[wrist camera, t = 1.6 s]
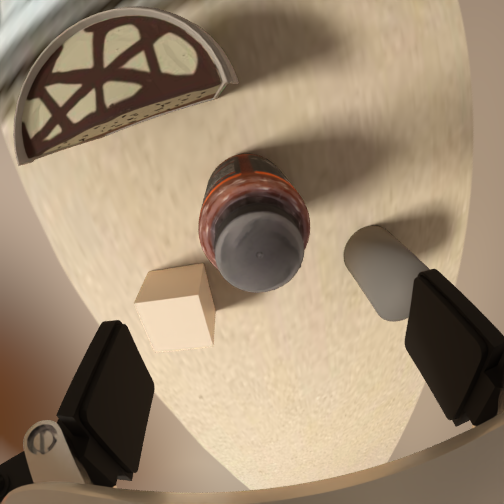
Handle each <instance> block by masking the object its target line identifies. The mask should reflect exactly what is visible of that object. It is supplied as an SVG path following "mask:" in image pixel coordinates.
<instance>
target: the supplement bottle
mask: <svg viewBox="0 0 504 504" xmlns="http://www.w3.org/2000/svg"><path fill="white" fill-rule="evenodd" d="M309 235H310V219H309V213H308V210H307V208H306V205H305V203H304V201H303V199H302V198H301V196H300V195H299V193H298V192H297V191H296V190H295V188H294V187H293V186H292V185H291V183H290V182H289V181H288V179H287V178H286V177H285V176H284V175H283V174H282V172H281V171H280V170H279V169H278V168H277V167H276V166H275V165H274V164H273V163H272V162H270V161H269V160H267V159H265V158H263V157H261V156H258V155H253V154H241V155H235V156H233V157H230V158H228V159H227V160H225V161H224V162H222V163H221V164H220V165H219V166H218V167H217V168H216V169H215V171H214V172H213V173H212V175H211V177H210V179H209V182H208V185H207V189H206V193H205V197H204V200H203V204H202V208H201V212H200V217H199V238H200V243H201V246H202V249H203V251H204V253H205V255H206V256H207V258H208V259H209V261H210V262H211V263H212V264H213V265H214V266H215V267H216V268H217V269H218V270H219V271H220V273H221V275H222V276H223V277H224V278H225V280H227V281H228V282H229V283H230V284H231V285H233V286H234V287H236V288H238V289H241V290H244V291H248V292H255V293H260V292H267V291H271V290H275V289H277V288H279V287H281V286H283V285H284V284H286V283H288V282H289V281H290V280H291V279H292V278H293V277H294V275H295V274H296V273H297V271H298V269H299V268H300V267H301V263H302V261H303V257H304V250H305V248H306V245H307V243H308V240H309Z"/></svg>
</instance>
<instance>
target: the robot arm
mask: <svg viewBox="0 0 504 504" xmlns="http://www.w3.org/2000/svg"><path fill="white" fill-rule="evenodd" d="M405 347H406V350H407V351H408V353H409V355H410V356H411V358H412V360H413V361H414V363H415V364H416V366H417V368H418V369H419V371H420V373H421V374H422V376H423V378H424V379H425V381H426V383H427V384H428V386H429V387H430V389H431V391H432V393H433V394H434V396H435V398H436V400H437V401H438V403H439V405H440V407H441V408H442V410H443V412H444V414H445V415H446V417H447V418H448V419H449V420H453V422H454V424H455V426H459V425H461V424H463V423H465V422H467V421H469V420H470V421H471V423H472V424H473V425H472V429H470V430H468V431H466V432H464V433H462V434H459V435H457V436H455V437H453V438H451V439H448V440H446V441H444V442H441V443H439V444H437V445H434V446H432V447H430V448H427V449H425V450H422V451H419V452H417V453H414V454H412V455H409V456H406V457H403V458H400V459H398V460H394V461H392V462H388V463H385V464H382V465H379V466H375V467H372V468H368V469H365V470H361V471H358V472H354V473H350V474H346V475H342V476H338V477H333V478H329V479H324V480H319V481H314V482H309V483H303V484H297V485H291V486H284V487H277V488H269V489H260V490H249V491H236V492H217V493H173V492H154V491H140V490H128V489H119V488H117V487H116V482H117V479H120V480H128V481H132V477H133V473H136V472H137V470H138V467H139V461H140V456H141V451H142V446H143V441H144V436H145V431H146V426H147V422H148V417H149V412H150V408H151V403H152V398H153V394H154V382H153V380H152V378H151V376H150V374H149V372H148V370H147V368H146V366H145V364H144V362H143V360H142V358H141V355H140V353H139V351H138V349H137V347H136V345H135V343H134V340H133V338H132V336H131V334H130V331H129V329H128V327H127V326H126V325H125V324H122V322H121V321H119V320H115V321H104V322H102V323H101V325H100V327H99V329H98V331H97V332H96V334H95V336H94V338H93V340H92V342H91V344H90V346H89V348H88V350H87V352H86V354H85V356H84V358H83V360H82V362H81V364H80V366H79V368H78V370H77V372H76V374H75V376H74V378H73V380H72V382H71V384H70V386H69V388H68V391H67V393H66V395H65V397H64V399H63V401H62V404H61V406H60V408H59V410H58V413H57V417H58V418H59V419H58V422H57V423H55V422H53V421H50V420H45V421H41V422H38V423H36V424H34V425H33V426H32V427H31V428H30V429H29V430H28V431H27V433H26V435H25V437H24V441H23V447H24V451H23V452H21V453H20V454H18V455H16V456H15V457H13V458H11V459H9V460H8V461H6V462H4V463H3V464H1V465H0V504H504V336H503V335H502V334H501V332H500V331H499V330H498V329H497V328H496V327H495V326H494V325H493V324H492V323H491V322H490V321H489V320H488V319H487V318H486V317H485V316H484V315H483V314H482V313H481V312H480V311H479V310H478V309H477V308H476V307H475V306H474V305H473V304H472V303H471V302H470V301H469V300H468V299H467V298H466V297H465V296H464V295H463V294H462V293H461V292H460V291H459V290H458V289H457V288H456V287H455V286H454V285H453V284H452V283H451V282H450V281H449V280H447V279H446V278H445V277H444V276H443V275H442V274H441V273H440V272H439V271H438V270H436V269H431V270H426V271H422V272H420V273H419V274H418V276H417V277H416V278H415V279H414V283H413V291H412V299H411V306H410V312H409V319H408V325H407V331H406V336H405Z"/></svg>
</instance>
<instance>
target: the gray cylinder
mask: <svg viewBox="0 0 504 504" xmlns="http://www.w3.org/2000/svg"><path fill="white" fill-rule="evenodd" d="M344 262H345V265H346V267H347V268H348V270H349V271H350V273H351V274H352V276H353V277H354V279H355V280H356V282H357V283H358V285H359V286H360V288H361V289H362V291H363V292H364V294H365V295H366V297H367V298H368V300H369V301H370V303H371V304H372V306H373V307H374V309H375V310H376V312H377V313H378V315H379V316H380V317H381V318H383V319H384V320H387V321H400V320H404V319H406V318H408V317H409V312H410V306H411V299H412V291H413V283H414V279H415V278H416V277H417V276H418V274H419V273H420V272H422V271H426V270H430V269H429V268H428V267H427V266H426V265H425V264H424V263H423V262H422V261H420V260H419V259H418V258H417V257H416V256H415V255H414V254H413V253H412V252H411V251H410V250H408V249H407V248H406V247H405V246H404V245H403V244H402V243H401V242H399V241H398V240H397V239H396V238H395V237H394V236H393V235H392V234H390V233H389V232H388V231H387V230H386V229H384V228H382V227H380V226H367V227H364V228H362V229H360V230H358V231H357V232H356V233H354V234H353V235H352V236H351V238H350V239H349V240H348V242H347V244H346V246H345V250H344Z"/></svg>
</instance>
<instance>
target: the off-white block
mask: <svg viewBox="0 0 504 504" xmlns="http://www.w3.org/2000/svg"><path fill="white" fill-rule="evenodd" d="M134 305H135V307H136V310H137V312H138V315H139V317H140V320H141V322H142V325H143V327H144V329H145V332H146V334H147V336H148V339H149V341H150V343H151V346H152V348H153V350H154V352H155V353H156V352H168V351H179V350H189V349H198V348H207V347H213V345H214V328H215V313H216V310H215V307H214V303H213V299H212V295H211V291H210V287H209V283H208V279H207V275H206V271H205V267H204V263H201V264H194V265H188V266H182V267H175V268H169V269H163V270H156V271H150V272H148V274H147V276H146V278H145V280H144V282H143V284H142V287H141V289H140V291H139V293H138V295H137V298H136V300H135V302H134Z"/></svg>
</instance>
